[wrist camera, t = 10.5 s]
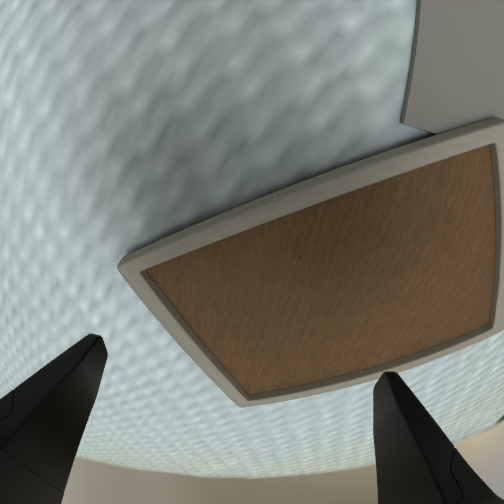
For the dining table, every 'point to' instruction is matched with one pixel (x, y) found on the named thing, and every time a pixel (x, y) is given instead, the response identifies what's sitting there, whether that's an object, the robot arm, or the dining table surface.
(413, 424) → the robot arm
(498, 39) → the mat
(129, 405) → the dining table surface
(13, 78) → the dining table surface
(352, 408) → the dining table surface
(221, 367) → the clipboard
